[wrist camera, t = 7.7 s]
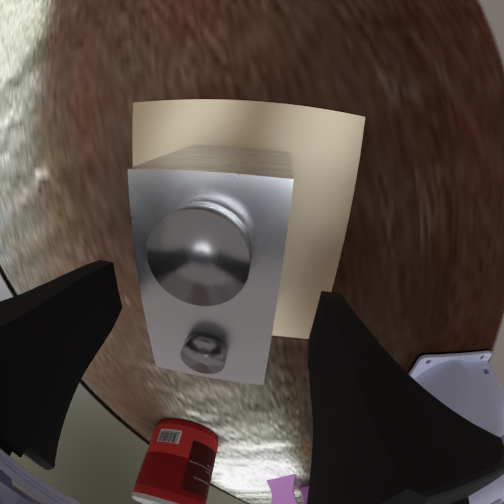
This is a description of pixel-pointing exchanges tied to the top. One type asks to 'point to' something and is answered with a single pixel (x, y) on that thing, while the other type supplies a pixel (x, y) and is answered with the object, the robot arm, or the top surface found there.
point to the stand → (304, 185)
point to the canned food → (177, 464)
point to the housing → (211, 256)
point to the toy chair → (286, 490)
